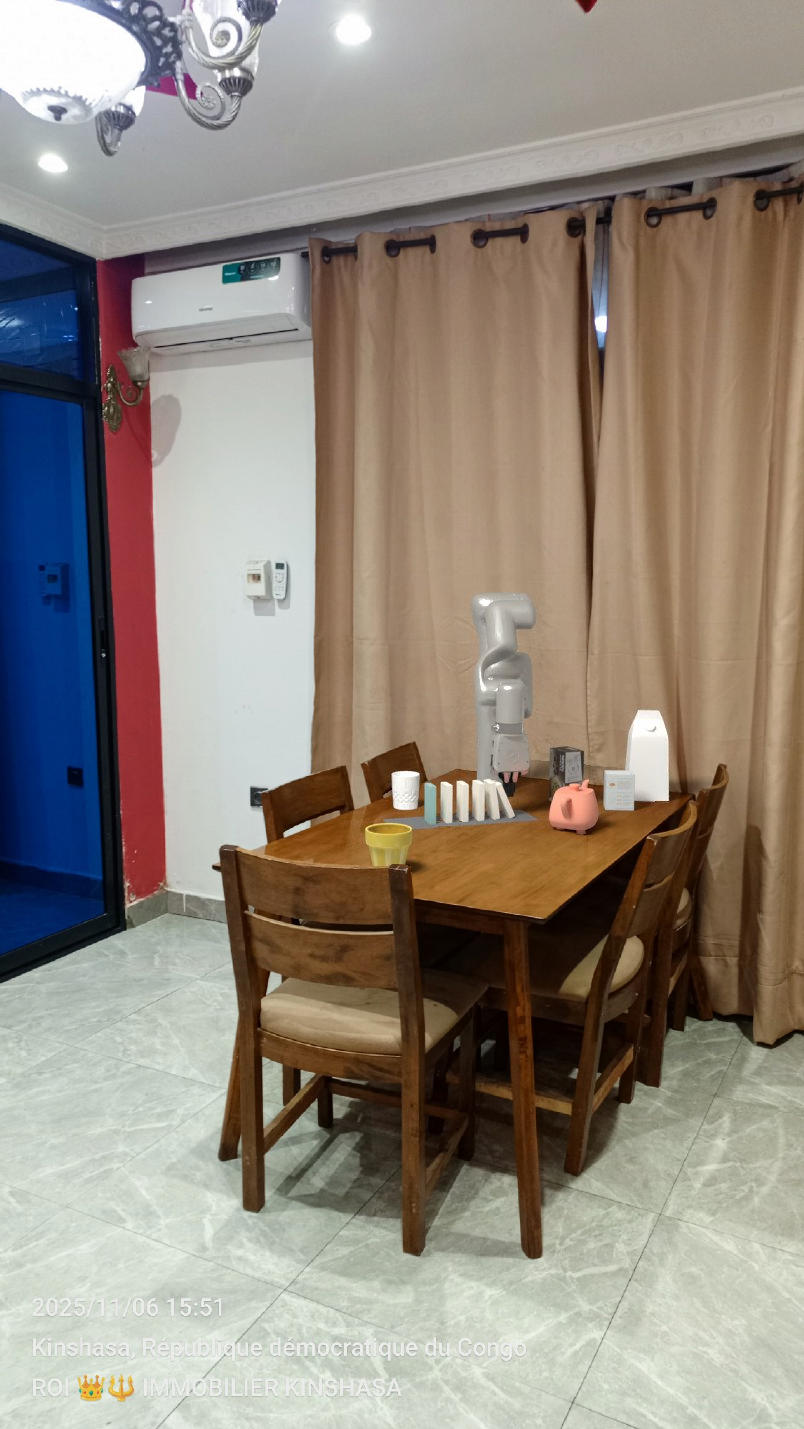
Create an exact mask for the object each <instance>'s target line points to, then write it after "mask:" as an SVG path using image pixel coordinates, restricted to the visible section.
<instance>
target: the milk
mask: <svg viewBox="0 0 804 1429" xmlns="http://www.w3.org/2000/svg"><path fill="white" fill-rule="evenodd" d="M669 742H670V741H669V736H668V732H667V729H666V725H665V722H664V718H663V716H662V714H661V712H660V710H659V709H658V710H655V709H653V710H652V709H638V710H637V712H636V714H635V716H634V719H633V720H632V723H631V724H630V727H629V730H628V734H627V743H626V744H627V745H626V754H625V755H626V756H625V766H624V771H632V772H633V773H634V774H635V788H634V802H655V801H669V802H670V799H669V798H670V795H669V793H670V792H669V790H670V789H669V788H670V785H669V783H670V781H669V780H670V779H669V778H670V776H669V775H670V774H669V770H670V769H669V768H670V767H669V766H670V764H669V763H670V762H669V760H670V755H669V751H670V748H669V747H670V746H669Z"/></svg>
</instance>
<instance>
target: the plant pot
mask: <svg viewBox="0 0 804 1429" xmlns="http://www.w3.org/2000/svg"><path fill="white" fill-rule="evenodd" d="M364 831H365V844H366V845H367V846H368V849H369V855H370V859H371V864H372V867H373V866H389V865H391V864H405V865H406V862H407V858H408V852H409V848H410V846H411V845H412V844H413V829H412V828H411V827H410V826H407V825H404V824H397V823H386V822H384V823H383V822H382V823H374V824H371V825H368V826H366V827H365V830H364Z"/></svg>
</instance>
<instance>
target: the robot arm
mask: <svg viewBox="0 0 804 1429" xmlns="http://www.w3.org/2000/svg"><path fill="white" fill-rule="evenodd" d="M536 610H537V609H536V606H535V603H534V601H533V599H532V598H531V597H530V596H529V594H527V593H525V592H482V593H478V594H476V595H474V596H473V597H472V599H471V604H470V611H471V612H470V613H471V618H472V622H473V624H474V627H475V630H476V633H477V636H478V637H477V638H478V660H477V661H476V664H475V666H474V671H473V685H474V686H473V687H474V706H475V707H474V709H475V714H476V715H475V717H476V727H477V729H476V731H477V733H476V735H477V736H476V738H477V740H476V741H477V743H476V744H477V745H476V746H477V747H476V780H479V781H481V782H483V780H486V779H490V780H492V781H493V780H496V781H498V782H499V783H501V784H502V786H503V789H504V791H505V793H506V796H507V798H510V797H511V798H514V795H515V793H516V783H517V781H518V779H519V778H520V777H522V776H523V775H524V776H525V775H527V774H528V773H529V769H530V767H531V756H530V755H531V754H530V744H529V738H528V734H527V733H525V719H529V718H530V717H531V716H532V715H533V711H534V688H533V687H534V684H533V682H534V681H533V679H534V678H533V676H534V675H533V663H532V662H533V661H532V659H531V657H530V655H529V654H528V653H527V652H524V651H518V649H519V648H518V647H519V645H518V637H517V636H518V635H517V631H518V630H532V629H533V628H535V625H536V620H537V611H536ZM483 783H484V782H483Z"/></svg>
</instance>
